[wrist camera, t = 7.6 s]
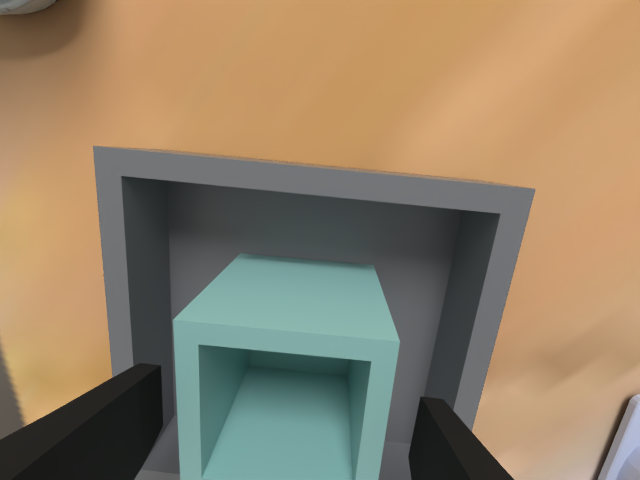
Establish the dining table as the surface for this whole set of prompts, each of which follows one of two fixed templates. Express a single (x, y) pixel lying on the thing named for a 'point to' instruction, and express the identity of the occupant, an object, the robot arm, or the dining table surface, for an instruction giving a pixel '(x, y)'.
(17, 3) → the ceramic mug
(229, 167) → the big crate
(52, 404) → the dining table surface
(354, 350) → the small crate
